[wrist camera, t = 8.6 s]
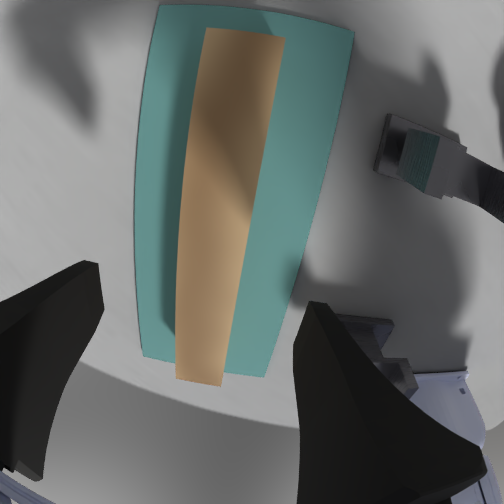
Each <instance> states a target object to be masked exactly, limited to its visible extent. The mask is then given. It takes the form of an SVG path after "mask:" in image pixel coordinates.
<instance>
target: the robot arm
mask: <svg viewBox="0 0 504 504" xmlns="http://www.w3.org/2000/svg"><path fill="white" fill-rule="evenodd" d="M103 312H104V303H103V296H102V289H101V282H100V274H99V266H98V263H95V262H90V261H86V260H83V261H81V262H78V263H76V264H74V265H72V266H70V267H68V268H66V269H64V270H62V271H60V272H58V273H56V274H54V275H52V276H51V277H49V278H47V279H45V280H43V281H41V282H39V283H38V284H36V285H34V286H32V287H30V288H28V289H26V290H24V291H22V292H20V293H18V294H16V295H14V296H12V297H10V298H8V299H6V300H4V301H1V302H0V504H12V503H11V499H13V500H14V501H16V502H17V503H19V504H55V503H53V502H51V501H49V500H48V499H46V498H44V497H42V496H40V495H38V494H36V493H35V492H33V491H31V490H30V489H28V488H26V487H25V486H23V485H21V484H20V483H18V482H17V481H15V480H13V479H12V478H10V477H9V476H7V475H6V474H4V473H3V472H2V470H3V468H6V469H7V470H9V471H10V472H12V473H13V472H14V470H16V471H18V472H19V473H21V474H23V475H24V476H26V477H27V478H29V479H31V480H33V481H40V480H42V479H43V470H44V462H45V454H46V448H47V444H48V439H49V435H50V430H51V427H52V423H53V420H54V416H55V413H56V410H57V406H58V404H59V401H60V398H61V395H62V393H63V390H64V388H65V385H66V383H67V381H68V379H69V377H70V375H71V373H72V372H73V370H74V368H75V366H76V364H77V363H78V361H79V359H80V357H81V356H82V354H83V352H84V350H85V349H86V347H87V345H88V343H89V342H90V340H91V338H92V336H93V335H94V333H95V331H96V328H97V326H98V324H99V322H100V319H101V317H102V314H103ZM293 375H294V384H295V392H296V401H297V409H298V418H299V427H300V464H299V483H298V495H297V504H502V497H501V493H500V489H499V486H498V482H497V479H496V476H495V473H494V470H493V467H492V464H491V462H490V459H489V457H488V456H487V455H483V454H482V451H481V449H482V447H483V444H484V441H485V424H484V421H483V419H482V416H481V414H480V412H479V409H478V407H477V405H476V403H475V401H474V399H473V396H472V394H471V392H470V390H469V388H468V386H467V384H466V382H465V379H466V378H467V377H468V376H469V373H468V371H459V372H447V373H430V374H414V376H415V379H416V381H417V384H418V386H419V389H418V390H417V391H416V392H415V393H414V395H413V396H412V397H411V398H410V399H408V398H407V397H406V396H405V395H404V394H402V393H401V392H400V391H399V390H398V389H397V388H396V387H395V386H394V385H393V384H392V383H391V382H390V381H389V380H388V379H387V378H386V377H385V376H384V375H383V374H382V373H381V371H380V370H379V369H378V368H377V367H376V366H375V365H374V363H373V362H372V361H371V360H370V359H369V358H368V356H367V355H366V354H365V353H364V352H363V350H362V349H361V348H360V347H359V345H358V344H357V343H356V341H355V340H354V339H353V338H352V336H351V335H350V334H349V332H348V331H347V330H346V328H345V327H344V326H343V324H342V323H341V322H340V320H339V319H338V318H337V316H336V315H335V313H334V312H333V311H332V309H331V308H330V307H329V306H328V304H327V303H320V302H313V301H309V303H308V306H307V309H306V312H305V314H304V317H303V320H302V323H301V325H300V328H299V331H298V333H297V336H296V339H295V341H294V344H293ZM10 498H11V499H10Z"/></svg>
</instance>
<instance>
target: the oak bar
mask: <svg viewBox="0 0 504 504" xmlns="http://www.w3.org/2000/svg"><path fill="white" fill-rule="evenodd" d="M285 39H286V38H285V37H280V36H274V35H268V34H262V33H255V32H248V31H240V30H231V29H220V28H206V32H205V37H204V42H203V47H202V52H201V57H200V63H199V68H198V74H197V80H196V86H195V92H194V98H193V105H192V112H191V119H190V126H189V133H188V141H187V149H186V158H185V167H184V176H183V187H182V197H181V209H180V222H179V237H178V254H177V276H176V312H175V363H176V379H181V380H186V381H191V382H196V383H202V384H208V385H214V386H220V387H221V383H222V378H223V372H224V366H225V361H226V355H227V349H228V344H229V338H230V332H231V327H232V321H233V316H234V310H235V305H236V299H237V294H238V288H239V283H240V277H241V272H242V266H243V261H244V255H245V250H246V244H247V239H248V233H249V228H250V223H251V217H252V212H253V206H254V201H255V196H256V190H257V185H258V180H259V174H260V169H261V164H262V158H263V153H264V148H265V143H266V137H267V132H268V127H269V122H270V116H271V111H272V106H273V101H274V96H275V91H276V85H277V80H278V75H279V70H280V65H281V60H282V55H283V50H284V45H285Z"/></svg>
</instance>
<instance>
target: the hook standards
mask: <svg viewBox="0 0 504 504" xmlns="http://www.w3.org/2000/svg"><path fill="white" fill-rule="evenodd" d="M466 151H467V147H465V146H463V145H461V144H459V143H457V142H455V141H453V140H451V139H449V138H447V137H445V136H443V135H441V134H438V133H436V132H434V131H432V130H429V129H427V128H425V127H422V126H420V125H418V124H415V123H413V122H410V121H408V120H405V119H403V118H400V117H398V116H395V115H392V114H387V117H386V122H385V126H384V130H383V134H382V138H381V142H380V146H379V150H378V154H377V158H376V161H375V165H374V169H373V170H374V171H375V172H377V173H379V174H382V175H386V176H389V177H392V178H396V179H399V180H402V181H405V182H408V183H410V184H411V185H413V186H414V187H416V188H417V189H419V190H420V191H422V192H423V193H425V194H428V195H431V196H434V197H437V198H440V199H442V196H443V195H446V196H448V197H451V198H452V197H453V196H455V197H457V198H460V199H462V200H465V201H467V202H470V203H472V204H475V205H477V206H479V207H481V208H483V209H484V210H485V211H487V212H488V213H490V214H491V215H493V216H494V217H496V218H497V219H498V220H500V221H501V222H503V223H504V172H502V171H500V170H498V169H496V168H494V167H492V166H490V165H488V164H486V163H484V162H483V161H481V160H479V159H477V158H475V157H473V156H471V155H469V154H467V153H466ZM335 315H336V316H337V318H338V319H339V320H340V322H341V323H342V324H343V326H344V327H345V328H346V330H347V331H348V332H349V334H350V335H351V336H352V338H353V339H354V340H355V341H356V343H357V344H358V345H359V347H360V348H361V349H362V350H363V352H364V353H365V354H366V355H367V356H368V358H369V359H370V360H371V361H372V362H373V363H374V365H375V366H376V367H377V368H378V369H379V370H380V371H381V373H382V374H383V375H384V376H385V377H386V378H387V379H388V380H389V381H390V382H391V383H392V384H393V385H394V386H395V387H396V388H397V389H398V390H399V391H400V392H401V393H402V394H404V395H405V396H406V397H407V398H408V399H410V398H411V397H412V396H413V395H414V393H415V392H416V391H417V390H418V389H419V386H418V384H417V381H416V379H415V376H414V374H413V371H412V369H411V367H410V364H409V362H408V360H407V358H383V355H382V353H381V348H382V347H383V345H384V343H385V342H386V340H387V338H388V337H389V335H390V333H391V331H392V330H393V328H394V326H395V325H394V323H393V321H392V320H387V319H376V318H366V317H357V316H348V315H339V314H335Z"/></svg>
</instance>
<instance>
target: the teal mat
mask: <svg viewBox="0 0 504 504" xmlns="http://www.w3.org/2000/svg"><path fill="white" fill-rule="evenodd" d="M206 28H220V29H231V30H240V31H248V32H255V33H262V34H268V35H274V36H280V37H285V38H286V39H285V45H284V50H283V55H282V60H281V65H280V70H279V75H278V80H277V85H276V91H275V96H274V101H273V106H272V111H271V116H270V122H269V127H268V132H267V137H266V143H265V148H264V153H263V158H262V164H261V169H260V174H259V180H258V185H257V190H256V196H255V201H254V206H253V212H252V217H251V223H250V228H249V233H248V239H247V244H246V250H245V255H244V261H243V266H242V272H241V277H240V283H239V288H238V294H237V299H236V305H235V310H234V316H233V321H232V327H231V332H230V338H229V344H228V349H227V355H226V361H225V366H224V372H226V373H233V374H240V375H248V376H256V377H264V376H265V373H266V370H267V367H268V364H269V361H270V359H271V356H272V353H273V350H274V347H275V344H276V341H277V337H278V334H279V331H280V328H281V325H282V322H283V319H284V316H285V313H286V309H287V306H288V303H289V300H290V296H291V293H292V290H293V287H294V283H295V280H296V277H297V273H298V270H299V267H300V263H301V260H302V256H303V253H304V249H305V246H306V242H307V239H308V235H309V231H310V228H311V224H312V220H313V217H314V213H315V209H316V206H317V202H318V198H319V194H320V190H321V186H322V182H323V178H324V174H325V170H326V166H327V162H328V158H329V154H330V150H331V146H332V141H333V137H334V133H335V128H336V124H337V119H338V115H339V110H340V106H341V101H342V96H343V91H344V87H345V82H346V77H347V72H348V66H349V61H350V56H351V50H352V45H353V39H354V33H355V32H353V31H350V30H347V29H343V28H340V27H337V26H333V25H330V24H326V23H322V22H318V21H314V20H310V19H306V18H301V17H297V16H292V15H287V14H281V13H276V12H270V11H263V10H256V9H248V8H239V7H229V6H215V5H160V6H159V10H158V15H157V19H156V23H155V28H154V33H153V37H152V42H151V47H150V53H149V58H148V64H147V70H146V77H145V83H144V90H143V98H142V106H141V114H140V124H139V134H138V147H137V161H136V180H135V267H136V287H137V301H138V314H139V325H140V334H141V343H142V351H143V356H144V357H149V358H153V359H157V360H162V361H166V362H171V363H175V312H176V276H177V254H178V237H179V222H180V209H181V197H182V187H183V176H184V167H185V158H186V149H187V141H188V133H189V126H190V119H191V112H192V105H193V98H194V92H195V86H196V80H197V74H198V68H199V63H200V57H201V52H202V47H203V42H204V37H205V32H206Z"/></svg>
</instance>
